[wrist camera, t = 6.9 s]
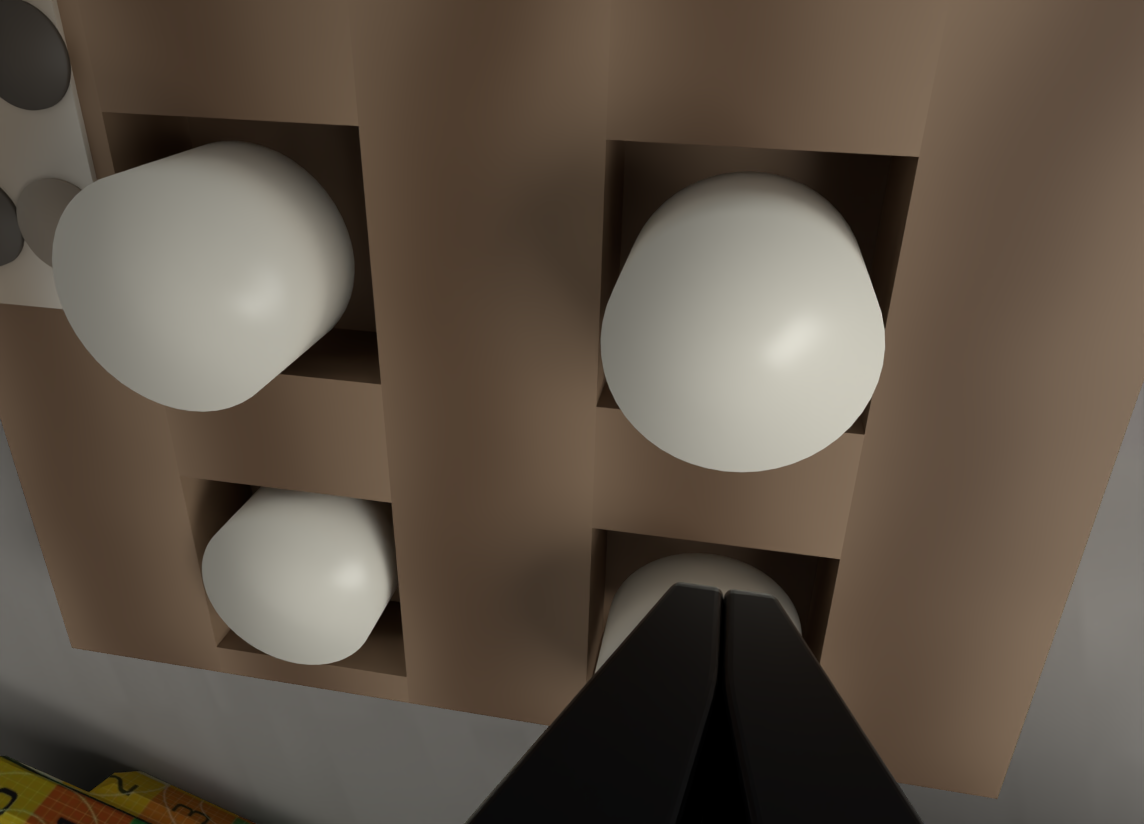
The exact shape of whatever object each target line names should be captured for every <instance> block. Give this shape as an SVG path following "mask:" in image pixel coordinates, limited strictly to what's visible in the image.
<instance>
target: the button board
mask: <svg viewBox="0 0 1144 824" xmlns="http://www.w3.org/2000/svg"><path fill="white" fill-rule="evenodd" d="M219 141H243V142H250V143H254V144H258V145H261V146H265V147H267V148H270V149H272V150H274V151H277V152H279V153H281V154H282V155H284V156H286V157H288V158H290V159H291V160H293V161H294V162H295V163H297V164H298V165H300V166H301V167H302V168H304V169H305V170H306V171H307V172H308V173H309V174H310V175H311V176H312V177H314V178H315V179H316V180H317V182H318V183H319V184H320V185H321V186H322V187H323V188H324V190H325V191H326V192H327V193H328V195H329V196H330V198H331V199H332V201H333V202H334V203H335V205H336V207H337V209H338V211H339V212H340V214H341V216H342V218H343V220H344V223H345V225H346V228H347V230H348V233H349V237H350V240H351V244H352V249H353V255H354V269H355V274H354V284H353V289H352V293H351V298H350V300H349V303H348V305H347V308H346V310H345V312H344V313H343V315H342V317H341V318H340V320H339V321H338V322H337V323H336V325H335V326H334V327H333V328H332V329H331V330H330V331H329V332H328V333H327V334H325V335H324V336H323V337H322V338H321V339H319V340H318V341H317V342H316V343H315V344H314V345H312V346H311V347H310V348H309V349H308V350H307V351H305V352H304V353H303V354H302V355H301V356H300V357H298V358H297V359H296V360H295V361H294V362H292V363H291V364H290V365H289V366H288V367H287V368H285V369H284V370H283V371H282V372H281V373H280V374H278V375H277V376H276V377H275V378H274V379H273V380H271V381H270V382H269V383H268V384H267V385H265V386H264V387H263V388H262V389H261V390H260V391H258V392H257V393H256V394H255V395H254V396H252V397H251V398H249V399H248V400H246V401H244V402H243V403H240V404H238V405H235V406H233V407H230V408H226V409H222V410H218V411H206V412H200V411H187V410H181V409H176V408H172V407H169V406H166V405H162V404H160V403H157V402H155V401H152V400H150V399H148V398H146V397H144V396H142V395H140V394H138V393H136V392H135V391H133V390H131V389H130V388H128V387H127V386H125V385H124V384H122V383H121V382H120V381H118V380H117V379H116V378H115V377H114V376H112V375H111V374H110V373H109V372H107V371H106V370H105V369H104V368H103V367H102V366H101V365H100V364H99V363H98V362H97V361H96V360H95V358H94V357H93V356H92V355H91V354H90V353H89V351H88V350H87V349H86V348H85V346H84V345H83V344H82V342H81V341H80V339H79V338H78V336H77V335H76V333H75V332H74V330H73V328H72V326H71V325H70V323H69V321H68V319H67V317H66V315H65V312H64V310H63V308H62V306H61V303H60V300H59V297H58V293H57V290H56V286H55V281H54V276H53V266H52V249H53V241H54V236H55V231H56V228H57V225H58V222H59V220H60V217H61V215H62V214H63V212H64V210H65V208H66V207H67V205H68V204H69V203H70V201H71V200H72V199H73V198H74V197H75V196H76V195H77V194H78V193H79V192H80V191H81V190H83V189H84V188H85V187H86V186H88V185H90V184H92V183H93V182H95V181H97V180H99V179H102V178H105V177H108V176H111V175H114V174H117V173H120V172H123V171H126V170H129V169H132V168H135V167H138V166H141V165H144V164H147V163H151V162H154V161H157V160H160V159H163V158H166V157H169V156H172V155H175V154H178V153H181V152H184V151H187V150H190V149H193V148H197V147H200V146H203V145H206V144H209V143H213V142H219ZM739 171H756V172H764V173H772V174H776V175H780V176H783V177H787V178H790V179H792V180H795V181H797V182H799V183H802V184H804V185H806V186H807V187H809V188H811V189H812V190H814V191H816V192H817V193H819V194H820V195H821V196H822V197H824V198H825V199H826V200H827V201H829V202H830V203H831V204H832V205H833V206H834V207H835V208H836V209H837V210H838V212H839V213H840V214H841V215H842V216H843V218H844V219H845V221H846V222H847V223H848V225H849V226H850V228H851V230H852V232H853V234H854V236H855V238H856V240H857V243H858V246H859V248H860V251H861V254H862V257H863V260H864V263H865V266H866V269H867V272H868V274H869V277H870V280H871V283H872V286H873V289H874V292H875V295H876V298H877V301H878V304H879V307H880V310H881V313H882V318H883V324H884V330H885V352H884V360H883V366H882V370H881V374H880V377H879V381H878V383H877V386H876V388H875V390H874V393H873V395H872V397H871V399H870V401H869V402H868V404H867V406H866V407H865V409H864V410H863V412H862V413H861V415H860V416H859V417H858V418H857V420H856V421H855V422H854V423H853V424H852V426H851V427H850V428H849V429H848V430H846V431H845V432H844V433H843V434H842V435H841V436H840V437H839V438H838V439H837V440H835V441H834V442H832V443H831V444H830V445H828V446H827V447H826V448H824V449H822V450H821V451H819V452H817V453H815V454H814V455H812V456H810V457H808V458H805V459H803V460H801V461H798V462H796V463H793V464H790V465H787V466H783V467H780V468H776V469H770V470H764V471H757V472H727V471H719V470H714V469H708V468H704V467H701V466H697V465H694V464H690V463H688V462H686V461H683V460H681V459H678V458H676V457H674V456H672V455H670V454H669V453H667V452H665V451H663V450H661V449H660V448H659V447H657V446H656V445H654V444H653V443H652V442H650V441H649V440H648V439H646V438H645V437H644V436H643V435H642V434H641V433H640V432H639V431H638V430H637V429H636V428H635V427H634V426H633V425H632V424H631V423H630V421H629V420H628V419H627V418H626V417H625V415H624V414H623V412H622V411H621V409H620V408H619V406H618V405H617V403H616V401H615V399H614V397H613V395H612V393H611V391H610V389H609V386H608V383H607V380H606V377H605V374H604V370H603V364H602V358H601V330H602V322H603V318H604V314H605V310H606V306H607V304H608V301H609V299H610V296H611V294H612V291H613V289H614V287H615V285H616V282H617V280H618V278H619V276H620V274H621V271H622V269H623V267H624V265H625V263H626V260H627V258H628V256H629V254H630V252H631V249H632V247H633V245H634V243H635V241H636V238H637V237H638V235H639V233H640V231H641V230H642V228H643V226H644V225H645V223H646V222H647V221H648V220H649V218H650V217H651V216H652V214H653V213H654V212H655V211H656V210H657V209H658V208H659V207H660V206H661V205H662V204H663V203H664V202H665V201H667V200H668V199H669V198H671V197H672V196H673V195H674V194H676V193H677V192H679V191H681V190H682V189H684V188H686V187H687V186H689V185H691V184H693V183H696V182H698V181H700V180H703V179H705V178H708V177H712V176H716V175H719V174H724V173H731V172H739ZM1143 381H1144V0H0V419H1V422H2V425H3V428H4V431H5V435H6V438H7V441H8V444H9V447H10V451H11V454H12V457H13V460H14V463H15V467H16V470H17V473H18V476H19V479H20V483H21V486H22V489H23V492H24V495H25V499H26V502H27V505H28V508H29V511H30V515H31V518H32V521H33V524H34V527H35V531H36V534H37V537H38V540H39V543H40V547H41V550H42V553H43V556H44V559H45V563H46V566H47V569H48V572H49V575H50V579H51V582H52V585H53V588H54V591H55V595H56V598H57V601H58V604H59V607H60V611H61V614H62V617H63V620H64V623H65V627H66V630H67V633H68V636H69V639H70V643H71V646H72V648H76V649H83V650H89V651H95V652H101V653H107V654H113V655H119V656H125V657H132V658H138V659H144V660H150V661H156V662H162V663H168V664H174V665H181V666H187V667H193V668H199V669H205V670H211V671H217V672H223V673H230V674H236V675H242V676H248V677H254V678H260V679H266V680H272V681H279V682H285V683H291V684H297V685H303V686H309V687H315V688H321V689H328V690H334V691H340V692H346V693H352V694H358V695H364V696H370V697H377V698H383V699H389V700H395V701H401V702H407V703H413V704H419V705H426V706H432V707H438V708H444V709H450V710H456V711H462V712H469V713H475V714H481V715H487V716H493V717H499V718H505V719H511V720H518V721H524V722H530V723H536V724H542V725H548V726H550V725H551V723H552V722H553V721H554V720H555V719H556V718H557V716H558V715H559V714H560V713H561V712H562V711H563V710H564V708H565V707H566V706H567V705H568V704H569V703H570V702H571V700H572V699H573V698H574V697H575V696H576V695H577V694H578V692H579V691H580V690H581V689H582V688H583V687H584V685H585V684H586V683H587V682H588V681H589V680H590V679H591V677H592V676H593V675H594V674H595V670H596V666H597V662H598V657H599V653H600V649H601V645H602V640H603V636H604V632H605V627H606V623H607V619H608V615H609V610H610V607H611V604H612V600H613V598H614V596H615V594H616V592H617V590H618V589H619V588H620V586H621V585H622V584H623V582H624V581H625V580H626V579H627V578H628V577H629V576H630V575H631V574H633V573H634V572H635V571H637V570H638V569H639V568H641V567H643V566H645V565H647V564H648V563H650V562H653V561H655V560H658V559H660V558H664V557H668V556H672V555H678V554H685V553H706V554H715V555H721V556H726V557H729V558H732V559H736V560H739V561H741V562H744V563H746V564H748V565H751V566H753V567H754V568H756V569H758V570H760V571H762V572H763V573H764V574H766V575H767V576H769V577H770V578H771V579H772V580H774V581H775V582H776V583H777V584H778V585H779V586H780V587H781V588H782V589H783V590H784V592H785V593H786V594H787V595H788V597H789V598H790V600H791V601H792V603H793V605H794V606H795V609H796V611H797V613H798V616H799V620H800V624H801V632H802V637H803V639H804V640H805V642H806V643H807V645H808V647H809V648H810V650H811V651H812V653H813V654H814V656H815V657H816V659H817V660H818V662H819V663H820V665H821V666H822V668H823V670H824V671H825V673H826V674H827V676H828V677H829V679H830V680H831V682H832V683H833V685H834V686H835V688H836V690H837V691H838V693H839V694H840V696H841V697H842V699H843V700H844V702H845V703H846V705H847V706H848V708H849V709H850V711H851V713H852V714H853V716H854V717H855V719H856V720H857V722H858V723H859V725H860V726H861V728H862V729H863V731H864V733H865V734H866V736H867V737H868V739H869V740H870V742H871V743H872V745H873V746H874V748H875V749H876V751H877V752H878V754H879V756H880V757H881V759H882V760H883V762H884V763H885V765H886V766H887V768H888V769H889V771H890V772H891V774H892V775H893V777H894V779H895V780H896V782H897V783H904V784H910V785H916V786H922V787H928V788H934V789H940V790H946V791H953V792H959V793H965V794H971V795H977V796H983V797H989V798H995V799H997V798H998V796H999V793H1000V790H1001V787H1002V784H1003V781H1004V778H1005V775H1006V773H1007V770H1008V767H1009V764H1010V761H1011V758H1012V755H1013V753H1014V750H1015V747H1016V744H1017V741H1018V738H1019V735H1020V733H1021V730H1022V727H1023V724H1024V721H1025V718H1026V715H1027V713H1028V710H1029V707H1030V704H1031V701H1032V698H1033V695H1034V693H1035V690H1036V687H1037V684H1038V681H1039V678H1040V675H1041V672H1042V670H1043V667H1044V664H1045V661H1046V658H1047V655H1048V652H1049V650H1050V647H1051V644H1052V641H1053V638H1054V635H1055V632H1056V630H1057V627H1058V624H1059V621H1060V618H1061V615H1062V612H1063V610H1064V607H1065V604H1066V601H1067V598H1068V595H1069V592H1070V590H1071V587H1072V584H1073V581H1074V578H1075V575H1076V572H1077V569H1078V567H1079V564H1080V561H1081V558H1082V555H1083V552H1084V549H1085V547H1086V544H1087V541H1088V538H1089V535H1090V532H1091V529H1092V527H1093V524H1094V521H1095V518H1096V515H1097V512H1098V509H1099V507H1100V504H1101V501H1102V498H1103V495H1104V492H1105V489H1106V487H1107V484H1108V481H1109V478H1110V475H1111V472H1112V469H1113V466H1114V464H1115V461H1116V458H1117V455H1118V452H1119V449H1120V446H1121V444H1122V441H1123V438H1124V435H1125V432H1126V429H1127V426H1128V424H1129V421H1130V418H1131V415H1132V412H1133V409H1134V406H1135V404H1136V401H1137V398H1138V395H1139V392H1140V389H1141V386H1142V384H1143ZM261 486H263V487H271V488H279V489H287V490H295V491H303V492H311V493H319V494H327V495H334V496H342V497H350V498H358V499H366V500H374V501H382V502H390V503H392V514H393V525H394V537H395V548H396V560H397V571H398V582H399V585H398V587H397V588H396V590H395V592H394V594H393V595H392V597H391V599H390V600H389V602H388V604H387V606H386V607H385V609H384V611H383V612H382V614H381V616H380V618H379V619H378V621H377V623H376V624H375V626H374V628H373V630H372V631H371V633H370V635H369V636H368V638H367V640H366V641H365V643H364V644H363V645H362V646H361V648H359V649H358V650H357V651H356V652H355V653H353V654H352V655H350V656H348V657H347V658H345V659H342V660H340V661H337V662H333V663H329V664H321V665H307V664H298V663H293V662H288V661H285V660H282V659H279V658H276V657H273V656H271V655H268V654H266V653H264V652H262V651H260V650H259V649H257V648H255V647H253V646H252V645H250V644H249V643H247V642H246V641H245V640H243V639H242V638H241V637H239V636H238V635H237V634H236V633H235V632H234V631H233V630H232V629H230V628H229V627H228V625H227V624H226V623H225V622H224V621H223V620H222V619H221V617H220V616H219V614H218V613H217V612H216V610H215V609H214V607H213V605H212V603H211V602H210V600H209V597H208V595H207V593H206V590H205V586H204V583H203V577H202V561H203V555H204V552H205V550H206V547H207V545H208V543H209V542H210V540H211V539H212V538H213V536H214V535H215V534H216V533H217V532H218V531H219V530H220V529H221V528H222V527H223V526H224V525H225V524H226V523H227V522H228V520H229V519H230V518H231V517H232V516H233V515H234V514H235V513H236V512H237V511H238V510H239V509H240V508H241V507H242V506H243V505H244V504H245V503H246V502H247V501H248V500H249V499H250V497H251V496H252V495H253V494H254V493H255V492H256V491H257V490H258V489H259V488H260V487H261Z"/></svg>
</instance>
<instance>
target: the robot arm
mask: <svg viewBox="0 0 1144 824" xmlns="http://www.w3.org/2000/svg"><path fill="white" fill-rule="evenodd" d="M464 824H924V823H923V822H922V820H921V818H920V817H919V815H918V814H917V812H916V811H915V809H914V808H913V806H912V805H911V803H910V802H909V800H908V799H907V797H906V795H905V794H904V792H903V791H902V789H901V788H900V786H899V785H898V783H897V782H896V780H895V779H894V777H893V775H892V774H891V772H890V771H889V769H888V768H887V766H886V765H885V763H884V762H883V760H882V759H881V757H880V756H879V754H878V752H877V751H876V749H875V748H874V746H873V745H872V743H871V742H870V740H869V739H868V737H867V736H866V734H865V733H864V731H863V729H862V728H861V726H860V725H859V723H858V722H857V720H856V719H855V717H854V716H853V714H852V713H851V711H850V709H849V708H848V706H847V705H846V703H845V702H844V700H843V699H842V697H841V696H840V694H839V693H838V691H837V690H836V688H835V686H834V685H833V683H832V682H831V680H830V679H829V677H828V676H827V674H826V673H825V671H824V670H823V668H822V666H821V665H820V663H819V662H818V660H817V659H816V657H815V656H814V654H813V653H812V651H811V650H810V648H809V647H808V645H807V643H806V642H805V640H804V639H803V637H802V636H801V634H800V633H799V631H798V630H797V628H796V627H795V625H794V624H793V622H792V620H791V619H790V617H789V616H788V614H787V613H786V611H785V610H784V608H783V607H782V605H781V604H780V602H779V601H778V599H777V598H776V597H774V596H773V595H771V594H767V593H759V592H751V591H744V590H736V589H730V590H728V591H727V592H726V593H725V595H724V599H723V593H722V591H721V590H720V589H719V588H717V587H714V586H706V585H699V584H691V583H684V582H677V583H675V584H673V585H672V586H671V587H670V588H669V589H668V590H667V591H666V592H665V594H664V595H663V596H662V597H661V598H660V599H659V600H658V602H657V603H656V604H655V605H654V606H653V607H652V609H651V610H650V611H649V612H648V613H647V614H646V615H645V617H644V618H643V619H642V620H641V621H640V622H639V623H638V625H637V626H636V627H635V628H634V629H633V630H632V631H631V633H630V634H629V635H628V636H627V637H626V638H625V640H624V641H623V642H622V643H621V644H620V645H619V646H618V648H617V649H616V650H615V651H614V652H613V653H612V654H611V656H610V657H609V658H608V659H607V660H606V661H605V663H604V664H603V665H602V666H601V667H600V668H599V669H598V671H597V672H596V673H595V674H594V675H593V676H592V677H591V679H590V680H589V681H588V682H587V683H586V684H585V685H584V687H583V688H582V689H581V690H580V691H579V692H578V694H577V695H576V696H575V697H574V698H573V699H572V700H571V702H570V703H569V704H568V705H567V706H566V707H565V708H564V710H563V711H562V712H561V713H560V714H559V715H558V716H557V718H556V719H555V720H554V721H553V722H552V723H551V725H550V726H549V727H548V728H547V729H546V730H545V731H544V733H543V734H542V735H541V736H540V737H539V738H538V739H537V741H536V742H535V743H534V744H533V745H532V746H531V748H530V749H529V750H528V751H527V752H526V753H525V754H524V756H523V757H522V758H521V759H520V760H519V761H518V762H517V764H516V765H515V766H514V767H513V768H512V769H511V770H510V772H509V773H508V774H507V775H506V776H505V777H504V779H503V780H502V781H501V782H500V783H499V784H498V785H497V787H496V788H495V789H494V790H493V791H492V792H491V793H490V795H489V796H488V797H487V798H486V799H485V800H484V802H483V803H482V804H481V805H480V806H479V807H478V808H477V810H476V811H475V812H474V813H473V814H472V815H471V816H470V818H469V819H468V820H467V821H466V822H465V823H464Z"/></svg>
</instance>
